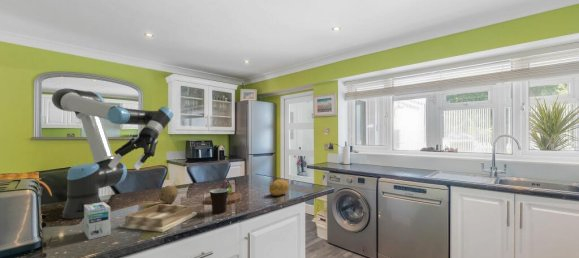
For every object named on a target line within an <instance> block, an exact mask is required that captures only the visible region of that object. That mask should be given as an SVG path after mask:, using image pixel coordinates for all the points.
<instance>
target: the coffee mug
mask: <svg viewBox="0 0 579 258" xmlns="http://www.w3.org/2000/svg"><path fill="white" fill-rule="evenodd" d="M209 196H211V204H210V205H211V211H212V213H213V214H223V213H226V212H227V207H228V206H227V205H228V204H227V199H228V188H226V189H221V188H219V189H217V188H215V189H211V190H209Z"/></svg>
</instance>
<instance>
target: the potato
mask: <svg viewBox="0 0 579 258" xmlns="http://www.w3.org/2000/svg"><path fill="white" fill-rule="evenodd" d="M268 190H269V194H270V195H272V196H276V197H277V196H282V195H284V194H285V193H287V192H288V190H289V182H287V181H286V180H284V179H278V178H277V179H276V180H274V181H273V182H272V183H271V184H270V185H269V188H268Z"/></svg>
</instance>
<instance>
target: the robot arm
mask: <svg viewBox="0 0 579 258" xmlns="http://www.w3.org/2000/svg"><path fill="white" fill-rule="evenodd" d="M51 102H52V104H53V105H54V106H55V108H57V109H59V110H60V111H65V112H69V113H70V112H73V113H74V114H75V117H76V119H78V120H80V121H81V125H82V128H83V130H84V134H85V136H86V139H87V143H88V146H89V149H90V152H91V155H92V158H93V162H90V163H85V164H84V163H83V164H77V165H75V166H72V167H70V168H69V169H68V170H67V176H66V179H67V185H66V186H67V188H66V189H67V193H66V195H67V196H66V197H67V200H66V203H65V205H64V208H63V211H62V217H61V218H63V219H67V220H75V219H84V205H87V204H94V203H100V202H102V201H101V200H102V199H101V198H100V193H99V192H100V191H99V189H103V188H106V187H111V186H112V187H113V186H116V185H119V184H122V182H123V181H124V180H126V177H127V175H128V170H127V169H128V168H127V166H126V165H125V164H124V163H122V162H121V161H122V159H123V158H124V156H126V155H127V154H129V153H131V152H133V151H134V150H138V149H143V153H141V155H140V156H139V158H138V159H137V160H136V161H135V163H134V164H133V165H132V168H134V169H135V170H136V171H139V170H140V169H141V167H142V166H143V164H144V163H145V162H146V161H147V160H148V159H149V158H150V157H154V156H155V153H156V148H157V145H158V142H159V141H158V137H159V136H160V135H161V133H162V132H163V131H164V129H165V128H166V127H167V126H168V124H169V123H170V122H171V120H172V119H173V116H174V112H173V111H172V109H170V108H169V107H167V106H160V108H159V109H157V110H147V109H146V110H143V109H135V108H127V107H122V106H118V105H116V104H110V103H106V102H105V100H104V98H103V97H102V96H101V95H100V94H99V93H98V92H93V91H91V90H90V91H87V90H81V89H73V88H60V89H58V90H57V91H55V92H54V93H53V94H52V97H51ZM102 119H103V120H107V121H109V122H110V123H112V124H115V125H132V126H133V125H136V126H144V127H143V128H142V129H141V130H140V132H139V134H138V137H137V138H134V137H132V138H131V139H130V140H129V141H127V142H126V143H124V144H122V145H121V146H119V148H117V149H116V150H114V153H113V150H112V148H111V145H110V142H109V138H108V136H107V133H106V129H105V127H104V123H103V121H102ZM114 154H115V156H114Z"/></svg>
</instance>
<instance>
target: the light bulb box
mask: <svg viewBox="0 0 579 258" xmlns="http://www.w3.org/2000/svg"><path fill="white" fill-rule="evenodd" d="M83 220H84V221H83V222H84V223H83V224H84V227H83V230H84V234H85V236H86V238H87V239H88V240H89V241H90V240H94V239H97V238H102V237H105V236H111V206H110V204H109V205H108V204H107V203H106V202H104V201H101V202H100V203H94V204H87V205H84V217H83Z"/></svg>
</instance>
